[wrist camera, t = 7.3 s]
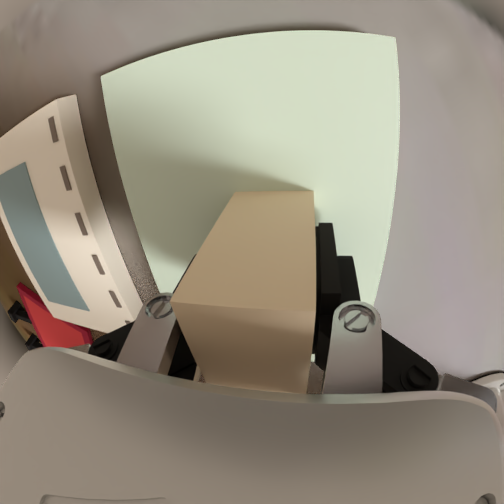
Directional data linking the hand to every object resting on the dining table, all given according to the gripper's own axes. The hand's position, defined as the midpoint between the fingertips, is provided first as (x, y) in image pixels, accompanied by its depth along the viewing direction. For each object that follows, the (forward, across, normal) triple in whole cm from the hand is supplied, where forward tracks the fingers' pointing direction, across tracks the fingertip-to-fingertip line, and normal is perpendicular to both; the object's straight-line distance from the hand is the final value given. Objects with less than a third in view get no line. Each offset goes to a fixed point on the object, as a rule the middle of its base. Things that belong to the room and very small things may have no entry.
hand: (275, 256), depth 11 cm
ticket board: (+2, +16, 0) cm, 16 cm away
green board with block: (+2, +1, 0) cm, 2 cm away
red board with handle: (+3, +32, +21) cm, 39 cm away
